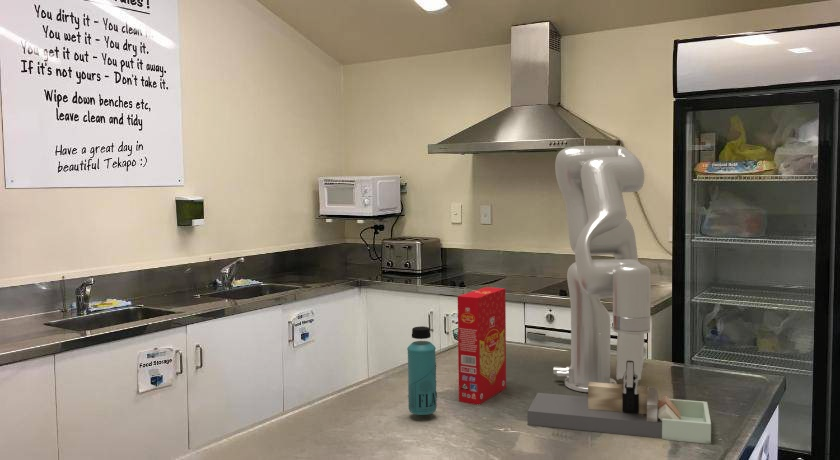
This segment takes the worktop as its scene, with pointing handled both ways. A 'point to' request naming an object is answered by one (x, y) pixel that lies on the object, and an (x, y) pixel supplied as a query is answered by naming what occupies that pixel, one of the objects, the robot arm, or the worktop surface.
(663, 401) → the tile terracotta
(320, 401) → the worktop surface
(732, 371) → the worktop surface
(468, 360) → the food packaging
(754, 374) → the worktop surface
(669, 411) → the tile cream
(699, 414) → the grey platform with tray
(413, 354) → the beverage bottle
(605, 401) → the scraper
